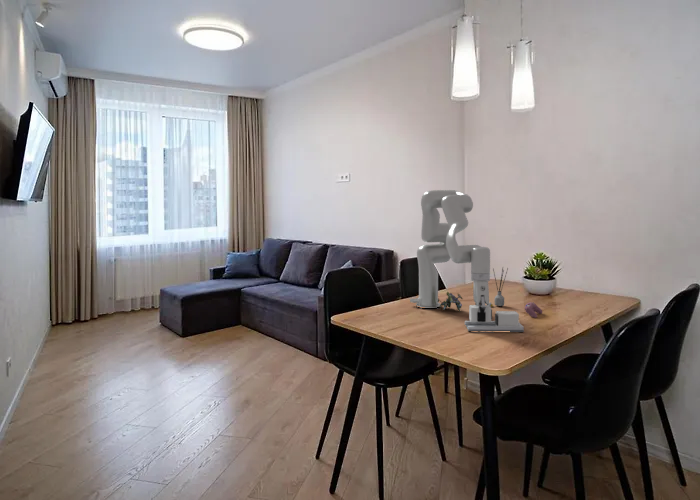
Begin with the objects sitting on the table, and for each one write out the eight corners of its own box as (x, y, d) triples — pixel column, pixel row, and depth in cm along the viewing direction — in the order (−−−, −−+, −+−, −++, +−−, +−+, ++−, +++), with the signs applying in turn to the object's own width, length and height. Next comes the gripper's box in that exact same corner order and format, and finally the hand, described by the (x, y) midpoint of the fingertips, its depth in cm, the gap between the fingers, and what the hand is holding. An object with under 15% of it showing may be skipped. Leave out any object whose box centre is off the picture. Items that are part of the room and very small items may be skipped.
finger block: (471, 322, 185) (471, 307, 184) (469, 318, 190) (469, 305, 189) (492, 322, 184) (492, 307, 183) (489, 319, 189) (489, 305, 188)
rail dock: (468, 332, 183) (468, 315, 182) (464, 325, 193) (464, 309, 192) (523, 332, 181) (524, 315, 180) (517, 325, 191) (517, 309, 190)
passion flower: (458, 322, 218) (467, 305, 210) (437, 319, 216) (445, 302, 209) (454, 304, 226) (463, 288, 219) (434, 301, 225) (442, 285, 217)
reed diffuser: (504, 304, 229) (505, 265, 226) (512, 307, 222) (512, 267, 220) (486, 305, 226) (486, 266, 224) (493, 309, 220) (494, 268, 217)
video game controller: (534, 315, 212) (527, 302, 213) (543, 312, 209) (537, 298, 210) (528, 320, 204) (521, 306, 205) (537, 317, 201) (530, 303, 202)
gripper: (494, 280, 176) (493, 325, 178) (485, 273, 193) (485, 314, 195) (474, 280, 177) (474, 325, 179) (467, 273, 194) (467, 314, 196)
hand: (480, 319), depth 187 cm, fingers closed on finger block, 5 cm apart
